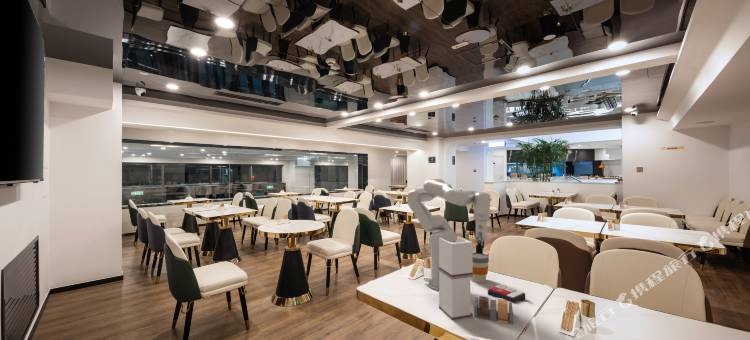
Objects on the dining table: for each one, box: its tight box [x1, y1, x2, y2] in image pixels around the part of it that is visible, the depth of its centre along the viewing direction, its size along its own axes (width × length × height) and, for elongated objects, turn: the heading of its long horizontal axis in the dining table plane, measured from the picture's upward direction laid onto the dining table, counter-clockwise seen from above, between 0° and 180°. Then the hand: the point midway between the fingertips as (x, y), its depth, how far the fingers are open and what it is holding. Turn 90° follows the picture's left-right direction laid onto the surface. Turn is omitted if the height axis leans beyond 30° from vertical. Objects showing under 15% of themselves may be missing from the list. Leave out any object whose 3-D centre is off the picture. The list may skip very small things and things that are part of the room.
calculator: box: [487, 284, 526, 304], centre depth 156 cm, size 11×4×15 cm
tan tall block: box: [497, 298, 509, 320], centre depth 134 cm, size 4×4×7 cm
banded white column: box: [438, 235, 474, 321], centre depth 138 cm, size 11×11×35 cm
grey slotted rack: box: [473, 296, 514, 325], centre depth 135 cm, size 16×10×6 cm, turn 68°
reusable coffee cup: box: [470, 252, 490, 284], centre depth 179 cm, size 12×13×15 cm
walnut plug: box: [478, 295, 490, 316], centre depth 137 cm, size 4×4×7 cm
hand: (479, 250), depth 150 cm, fingers open, 9 cm apart
